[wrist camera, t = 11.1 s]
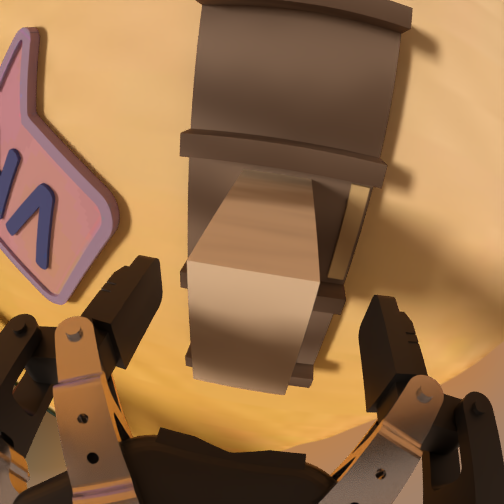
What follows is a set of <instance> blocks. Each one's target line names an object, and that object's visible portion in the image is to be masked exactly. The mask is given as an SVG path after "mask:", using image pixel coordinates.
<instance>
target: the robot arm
mask: <svg viewBox="0 0 504 504" xmlns="http://www.w3.org/2000/svg"><path fill="white" fill-rule="evenodd" d="M162 293H163V291H162V281H161V270H160V262H159V259H157V258H152V257H147V256H141V255H139V256H137V258H136V259H135V260H134V261H133V263H132V264H131V265H130V266H124V267H122V268H121V269H119V270H117V271H116V272H114V273H113V275H112V276H111V277H110V278H109V280H108V281H107V283H105V285H104V286H103V287H102V288H101V290H100V291H99V292H98V294H97V295H96V296H95V297H94V299H93V300H92V301H91V303H90V304H89V305H88V307H87V308H86V309H85V311H84V312H83V313H82V315H81V316H75V317H70V318H68V319H65V320H64V321H62V322H61V323H60V324H59V325H58V327H42V326H38V324H37V322H36V319H35V318H34V317H33V316H32V315H29V314H21V315H18V316H16V317H14V318H12V319H11V320H10V321H9V322H8V323H7V325H6V326H5V327H4V329H3V330H2V331H1V333H0V504H392V503H393V501H394V500H395V499H396V497H397V496H398V494H399V493H400V491H401V490H402V488H403V487H404V485H405V484H406V482H407V480H408V479H409V477H410V476H411V474H412V472H413V471H414V469H415V467H416V465H417V464H418V462H419V460H420V458H421V456H422V468H423V504H504V462H503V456H502V450H501V445H500V440H499V434H498V430H497V425H496V421H495V416H494V413H493V408H492V405H491V403H490V401H489V400H488V398H487V397H486V396H485V395H483V394H481V393H479V392H470V393H469V394H467V395H466V396H465V398H463V399H458V398H455V397H452V396H449V395H446V394H444V393H443V390H442V388H441V386H440V384H439V383H438V382H437V381H436V380H435V379H433V378H431V377H429V376H428V374H427V370H426V367H425V363H424V359H423V356H422V352H421V349H420V346H419V344H418V339H417V336H416V335H415V334H416V333H415V329H414V326H413V323H412V321H411V320H410V319H409V317H408V316H407V315H406V314H405V312H399V309H398V305H397V302H396V299H395V298H394V297H390V296H382V295H374V296H373V298H372V300H371V302H370V305H369V307H368V309H367V312H366V314H365V316H364V318H363V321H362V323H361V326H360V329H359V346H360V354H361V362H362V371H363V380H364V390H365V400H366V412H377V417H378V419H377V420H376V421H375V422H374V424H373V425H372V427H371V428H370V429H369V431H368V432H367V433H366V434H365V436H364V437H363V438H362V440H361V441H360V442H359V443H358V445H357V446H356V447H355V448H354V450H353V451H352V452H351V453H350V454H349V456H348V457H347V458H346V459H345V460H344V461H343V462H342V463H341V464H340V465H339V467H337V468H336V469H335V470H334V472H333V473H332V474H331V475H329V474H327V473H326V472H325V471H323V470H322V469H320V468H318V467H316V466H314V465H312V464H309V463H306V462H305V460H306V454H300V453H290V452H280V451H272V450H268V451H256V452H240V453H231V452H227V451H225V450H222V449H220V448H218V447H216V446H214V445H211V444H209V443H207V442H205V441H203V440H201V439H199V438H197V437H195V436H191V435H187V434H183V433H179V432H175V431H172V430H168V429H165V428H161V427H160V430H159V433H158V435H144V436H137V437H133V436H132V433H131V431H130V428H129V426H128V424H127V422H126V419H125V416H124V413H123V410H122V407H121V403H120V400H119V397H118V393H117V390H116V386H115V382H114V379H113V375H112V372H113V370H114V368H115V366H117V367H120V368H123V369H126V368H127V366H128V364H129V362H130V360H131V358H132V357H133V355H134V353H135V351H136V349H137V347H138V345H139V343H140V341H141V339H142V337H143V336H144V334H145V332H146V330H147V328H148V326H149V324H150V322H151V321H152V319H153V317H154V315H155V313H156V311H157V310H158V308H159V306H160V303H161V300H162ZM24 368H25V369H26V372H25V374H24V376H23V377H22V379H21V381H20V383H19V384H18V386H17V388H16V390H15V391H14V393H12V391H13V386H14V384H15V383H16V381H17V379H18V377H19V376H20V374H21V372H22V371H23V369H24ZM53 397H54V405H55V412H56V418H57V424H58V430H59V435H60V441H61V445H62V450H63V455H64V459H65V463H66V467H67V471H65V472H63V473H61V474H59V475H57V476H55V477H53V478H50V479H48V480H46V481H44V482H42V483H40V484H37V485H35V486H33V487H30V488H28V489H27V484H26V483H27V482H28V481H29V480H30V474H29V472H28V466H27V463H26V460H25V458H26V455H27V453H28V451H29V448H30V446H31V444H32V441H33V439H34V437H35V434H36V432H37V430H38V428H39V426H40V423H41V421H42V419H43V417H44V415H45V413H46V411H47V409H48V407H49V405H50V403H51V401H52V399H53ZM458 447H460V454H461V464H462V470H461V474H460V464H459V455H458Z"/></svg>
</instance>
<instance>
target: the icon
mask: <svg viewBox="0 0 504 504" xmlns="http://www.w3.org/2000/svg"><path fill="white" fill-rule="evenodd" d="M39 42H40V36H39V31H38V29H37V28H35V27H25V28H21V29H20V30H19V31H18V32H17V33H16V35H15V37H14V39H13V41H12V43H11V45H10V47H9V49H8V51H7V53H6V55H5V57H4V60H3V62H2V64H1V66H0V249H1V250H2V251H3V252H4V254H5V255H6V256H7V257H8V258H9V259H10V260H11V262H12V263H13V264H14V265H15V266H16V267H17V268H18V269H19V271H20V272H21V273H22V274H23V275H24V276H25V277H26V278H27V279H28V280H29V281H30V282H31V283H32V284H33V285H34V286H35V287H36V288H37V290H38V291H39V292H40V293H41V294H42V295H43V296H45V297H46V298H47V299H48V300H49V301H51V302H53V303H55V304H59V305H63V304H65V303H66V302H67V300H68V299H69V298H70V297H71V296H72V294H73V292H74V291H75V289H76V288H77V286H78V285H79V283H80V282H81V280H82V279H83V277H84V275H85V274H86V272H87V271H88V270H89V268H90V267H91V265H92V264H93V262H94V261H95V259H96V258H97V256H98V255H99V254H100V252H101V251H102V249H103V248H104V247H105V245H106V244H107V242H108V241H109V240H110V238H111V237H112V236H113V234H114V233H115V231H116V230H117V228H118V225H119V218H120V217H119V209H118V205H117V202H116V200H115V198H114V196H113V194H112V193H111V192H110V190H109V189H108V188H107V187H106V186H105V185H104V184H103V183H102V182H101V181H100V180H99V179H98V178H97V177H96V176H95V175H94V174H93V173H92V172H91V171H90V170H89V169H88V168H87V167H86V166H85V165H84V164H83V163H82V162H81V161H80V160H79V159H78V158H77V157H76V156H75V155H74V154H73V153H72V151H71V150H70V149H69V148H68V147H67V146H66V145H65V144H64V143H63V142H62V141H61V140H60V139H59V138H58V137H57V136H56V135H55V133H54V132H53V131H52V130H51V129H50V128H49V127H48V126H47V125H46V124H45V123H44V121H43V120H42V119H41V118H40V117H39V116H38V114H37V112H36V83H37V64H38V52H39Z"/></svg>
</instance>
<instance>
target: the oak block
mask: <svg viewBox="0 0 504 504" xmlns="http://www.w3.org/2000/svg"><path fill="white" fill-rule="evenodd" d="M187 281H188V305H189V323H190V339H191V354H192V366H193V378H194V379H197V380H202V381H206V382H211V383H216V384H220V385H225V386H231V387H236V388H241V389H247V390H253V391H259V392H265V393H272V394H279V395H285V393H286V390H287V387H288V384H289V381H290V378H291V375H292V372H293V370H294V367H295V364H296V361H297V358H298V355H299V352H300V349H301V346H302V343H303V340H304V336H305V333H306V330H307V327H308V323H309V320H310V317H311V313H312V310H313V307H314V303H315V300H316V296H317V293H318V288H319V284H320V273H319V258H318V244H317V232H316V220H315V210H314V199H313V190H312V180H311V179H307V178H301V177H295V176H289V175H282V174H275V173H268V172H261V171H254V170H246V169H243V171H242V172H241V174H240V175H239V177H238V179H237V180H236V182H235V183H234V185H233V186H232V188H231V189H230V191H229V193H228V194H227V196H226V197H225V199H224V200H223V202H222V204H221V205H220V207H219V208H218V210H217V212H216V213H215V215H214V216H213V218H212V220H211V221H210V223H209V224H208V226H207V228H206V229H205V231H204V233H203V234H202V236H201V238H200V239H199V241H198V243H197V244H196V246H195V248H194V249H193V251H192V253H191V254H190V256H189V258H188V259H187Z"/></svg>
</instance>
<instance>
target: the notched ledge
mask: <svg viewBox="0 0 504 504" xmlns="http://www.w3.org/2000/svg"><path fill="white" fill-rule="evenodd" d="M196 1H197V2H199V3H200V4H202V12H201V19H200V28H199V36H198V45H197V55H196V65H195V76H194V88H193V101H192V116H191V129H188V130H186V131H184V132H182V133H181V135H180V156H182V157H189V182H188V258H189V256H190V254H191V253H192V251H193V249H194V248H195V246H196V244H197V243H198V241H199V239H200V238H201V236H202V234H203V233H204V231H205V229H206V228H207V226H208V224H209V223H210V221H211V220H212V218H213V216H214V215H215V213H216V212H217V210H218V208H219V207H220V205H221V204H222V202H223V200H224V199H225V197H226V196H227V194H228V193H229V191H230V189H231V188H232V186H233V185H234V183H235V182H236V180H237V179H238V177H239V175H240V174H241V172H242V171H243V169H246V170H254V171H261V172H268V173H275V174H282V175H289V176H295V177H301V178H307V179H311V180H312V190H313V199H314V210H315V220H316V232H317V244H318V258H319V273H320V284H319V288H318V293H317V296H316V300H315V303H314V307H313V310H312V313H311V317H310V320H309V323H308V327H307V330H306V333H305V336H304V340H303V343H302V346H301V349H300V352H299V355H298V358H297V361H296V364H295V367H294V370H293V372H292V375H291V378H290V381H289V384H288V385H291V386H299V387H307V388H310V385H311V383H312V381H313V365H314V362H315V360H316V357H317V355H318V352H319V350H320V347H321V345H322V342H323V340H324V337H325V335H326V332H327V330H328V327H329V324H330V322H331V319H332V316H333V314H338V315H340V314H341V312H342V309H343V307H344V304H345V301H346V297H345V290H344V282H345V279H346V276H347V273H348V270H349V267H350V264H351V261H352V258H353V255H354V252H355V248H356V245H357V242H358V239H359V235H360V232H361V229H362V225H363V222H364V218H365V215H366V211H367V207H368V204H369V200H370V196H371V192H372V188H373V187H378V188H382V185H383V181H384V177H385V173H386V169H387V165H386V164H385V163H384V162H383V161H382V160H381V159H380V155H381V151H382V146H383V142H384V137H385V132H386V128H387V122H388V117H389V112H390V107H391V101H392V95H393V89H394V83H395V77H396V70H397V63H398V55H399V47H400V39H401V33H403V32H405V31H408V30H410V29H411V22H412V9H413V8H411V7H408V6H405V5H402V4H399V3H396V2H393V1H390V0H196ZM180 282H181V287H182V288H187V289H188V281H187V261H186V262H185V264H184V266H183V268H182V269H181V271H180ZM190 341H191V339H190ZM185 360H186V366H190V367H193V366H192V354H191V343H190V346H189V348H188V351H187V353H186V356H185Z"/></svg>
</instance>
